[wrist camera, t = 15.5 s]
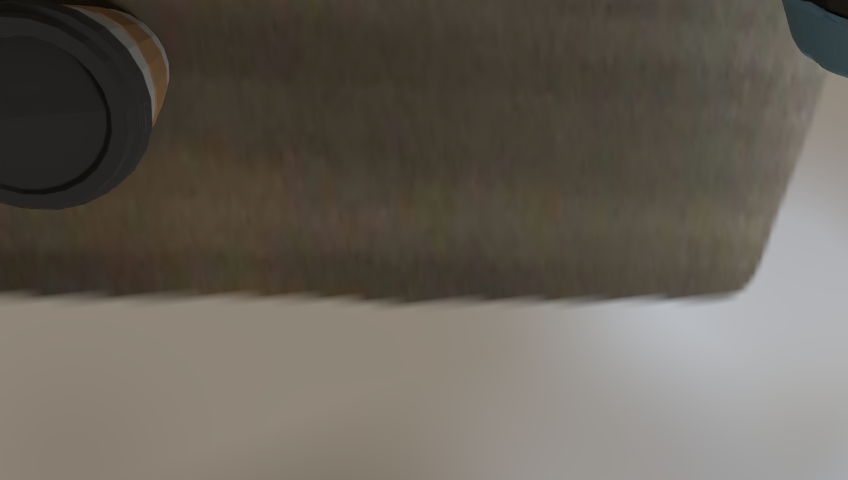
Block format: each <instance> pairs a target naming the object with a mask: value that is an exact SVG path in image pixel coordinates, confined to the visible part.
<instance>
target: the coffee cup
mask: <svg viewBox="0 0 848 480" xmlns="http://www.w3.org/2000/svg"><path fill="white" fill-rule="evenodd" d="M168 82H169V64H168V60H167V57H166V54H165V50H164V48H163V46H162V45H161V43H160V41H159V40H158V38H157V36H156V35H155V34H154V33H153V32H152V31H151V30H150V29H149V28H148V27H147V26H146V25H145V24H144V23H143V22H141V21H139V20H138V19H136V18H135V17H133V16H131V15H130V14H127V13H124V12H121V11H118V10H115V9H105V8H102V7H94V6H81V5H67V4H58V3H55V2H52V1H49V0H3V1H0V203H3V204H8V205H12V206H16V207H20V208H29V209H54V210H59V209H64V208H69V207H73V206H78V205H83V204H86V203H88V202H90V201H92V200H94V199H96V198H98V197H100V196H102V195H104V194H106V193H108V192H109V191H110V190H111V189H113V188H115V187H117V186H118V185H119V184H120V183H121V182H122V181H123V180H124V179H125V178H126V177H127V176H128V175H130V174H131V173H132V172H133V171H134V170H135V168H136V166H137V165H138V163H139V161H140V160H141V158H142V156H143V155H144V153H145V151H146V149H147V146H148V142H149V138H150V133H151V129H152V128H153V126H154V124H155V121H156V119H157V116H158V114H159V112H160V109H161V107H162V104H163V101H164V98H165V94H166V90H167V86H168Z"/></svg>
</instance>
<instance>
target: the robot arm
mask: <svg viewBox="0 0 848 480" xmlns="http://www.w3.org/2000/svg"><path fill="white" fill-rule="evenodd" d="M782 2H783V6H784V10H785V13H786V17H787V20H788V24H789V28H790V31H791V34H792V37H793V39H794V41H795V43H796V45H797V46H798V48H799V49H800V50H801V52H802V53H803V54H804V55H806V56H807V57H809V58H811V59H812V60H814V61H816V62H817V63H818V64H819V65H820V66H821V67H822V68H824V69H826V70H828V71H830V72H832V73H835V74H838V75H841V76H844V77H847V78H848V0H782Z"/></svg>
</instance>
